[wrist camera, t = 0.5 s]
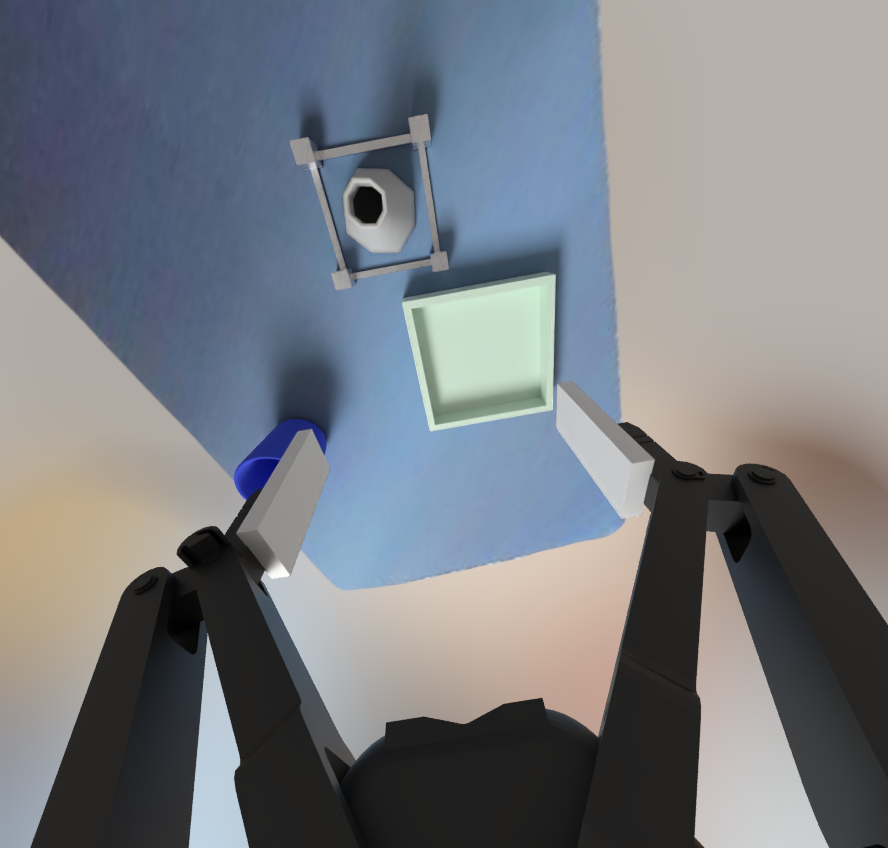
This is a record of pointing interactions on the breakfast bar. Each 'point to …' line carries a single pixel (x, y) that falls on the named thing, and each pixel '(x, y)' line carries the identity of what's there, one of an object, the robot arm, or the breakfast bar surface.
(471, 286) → the bin
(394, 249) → the flask
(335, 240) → the socket
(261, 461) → the mug
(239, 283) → the breakfast bar surface
